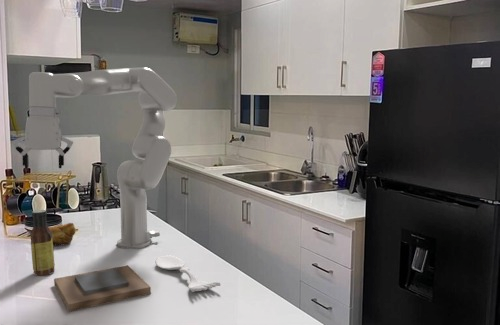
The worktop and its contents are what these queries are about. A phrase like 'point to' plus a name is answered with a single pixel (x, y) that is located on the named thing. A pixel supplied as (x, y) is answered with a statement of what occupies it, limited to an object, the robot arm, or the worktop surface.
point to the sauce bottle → (41, 245)
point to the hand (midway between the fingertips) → (43, 167)
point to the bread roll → (62, 234)
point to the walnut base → (100, 287)
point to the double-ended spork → (177, 263)
